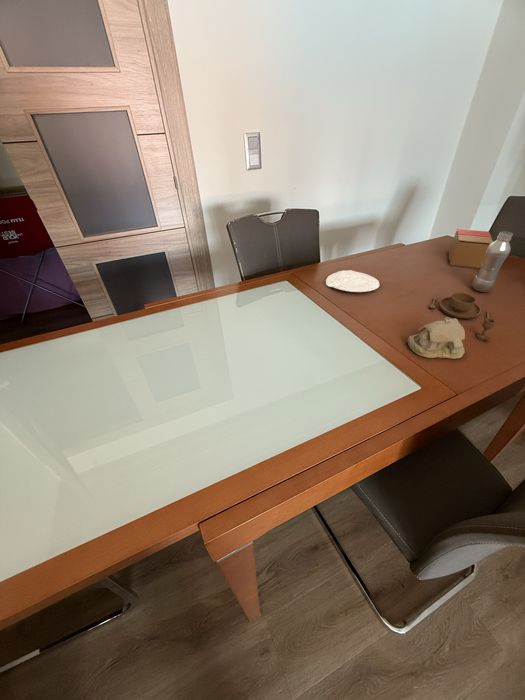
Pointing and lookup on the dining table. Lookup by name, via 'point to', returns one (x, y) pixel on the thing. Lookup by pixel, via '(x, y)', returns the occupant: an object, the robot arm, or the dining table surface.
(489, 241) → the carton
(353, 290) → the plaque
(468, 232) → the red rectangular panel
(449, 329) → the ceramic model
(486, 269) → the plastic bottle
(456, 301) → the place setting
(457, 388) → the dining table surface
